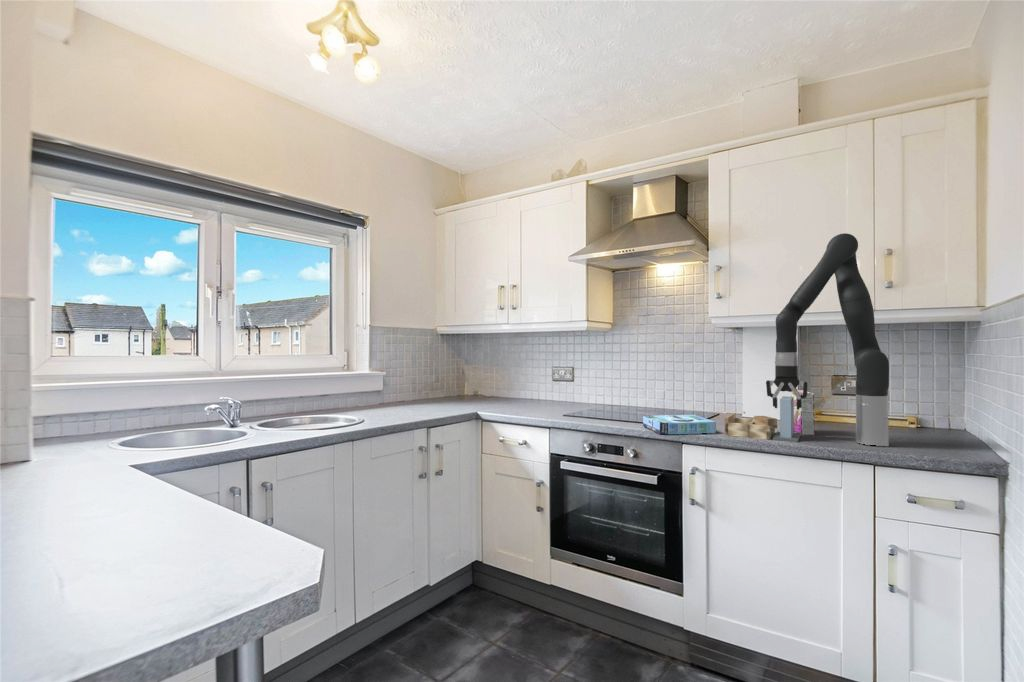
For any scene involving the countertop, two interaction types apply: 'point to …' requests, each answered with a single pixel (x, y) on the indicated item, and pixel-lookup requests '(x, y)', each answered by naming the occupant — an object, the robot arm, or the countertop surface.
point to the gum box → (679, 424)
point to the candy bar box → (804, 414)
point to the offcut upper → (765, 421)
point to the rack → (746, 428)
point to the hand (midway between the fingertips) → (786, 408)
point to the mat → (793, 439)
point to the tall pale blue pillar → (786, 417)
